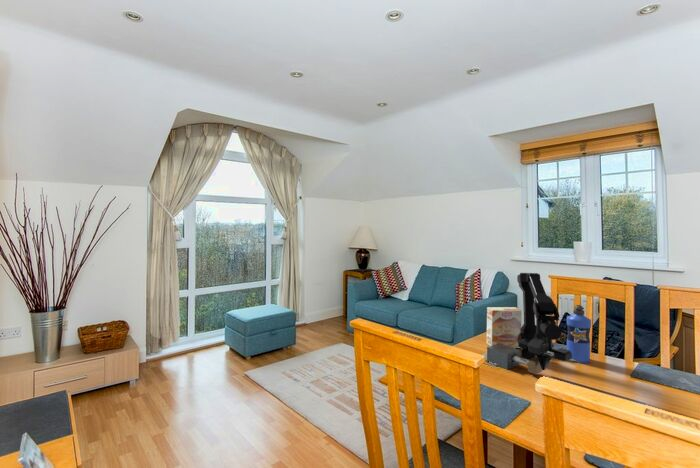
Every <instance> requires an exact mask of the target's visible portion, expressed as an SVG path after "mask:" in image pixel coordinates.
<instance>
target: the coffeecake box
mask: <svg viewBox="0 0 700 468" xmlns="http://www.w3.org/2000/svg"><path fill="white" fill-rule="evenodd" d="M521 327H522V309H519V308H518V307H516V306H514V307H513V306H504V307H503V306H497V307H496V306H495V307H492V306H487V307H486V345H487V347H489V346H492V345H495V344H499V343H500V344H503V345H506V346H509V347H513V348H518V339H517V338H518V336H519V333H520V329H521Z"/></svg>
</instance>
